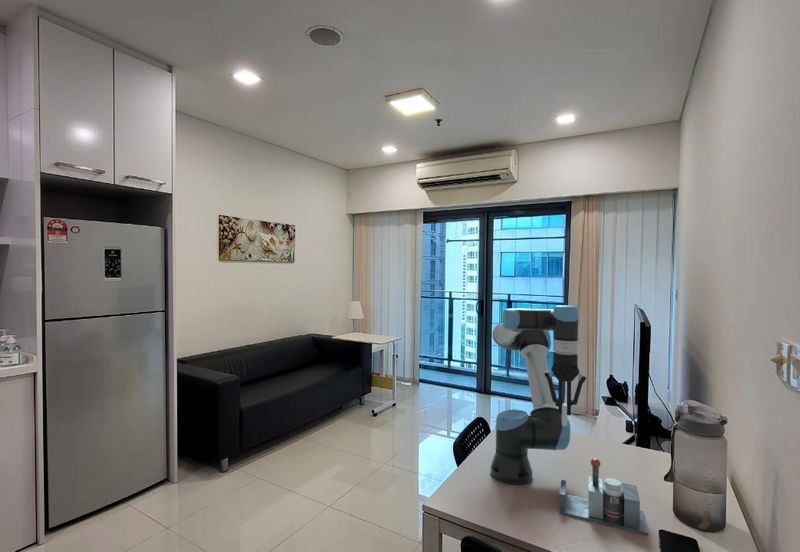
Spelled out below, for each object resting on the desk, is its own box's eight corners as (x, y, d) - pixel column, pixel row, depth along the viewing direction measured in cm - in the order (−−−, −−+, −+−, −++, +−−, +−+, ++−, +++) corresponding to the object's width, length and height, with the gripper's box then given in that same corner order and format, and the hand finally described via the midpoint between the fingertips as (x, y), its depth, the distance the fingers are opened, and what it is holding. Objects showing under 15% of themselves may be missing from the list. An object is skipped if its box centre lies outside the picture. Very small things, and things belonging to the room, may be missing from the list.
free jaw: (588, 515, 124) (588, 464, 124) (588, 499, 133) (588, 451, 133) (602, 519, 122) (603, 466, 122) (601, 502, 131) (602, 453, 131)
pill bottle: (625, 520, 122) (625, 487, 122) (605, 517, 123) (605, 485, 123) (619, 509, 128) (619, 478, 128) (599, 507, 129) (600, 476, 129)
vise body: (559, 513, 127) (559, 485, 127) (561, 495, 137) (561, 469, 137) (648, 535, 116) (648, 505, 116) (642, 513, 127) (643, 485, 127)
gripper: (543, 352, 131) (542, 424, 131) (587, 356, 125) (586, 431, 125) (545, 349, 138) (544, 417, 138) (587, 352, 132) (586, 424, 132)
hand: (564, 424), depth 132 cm, fingers closed
